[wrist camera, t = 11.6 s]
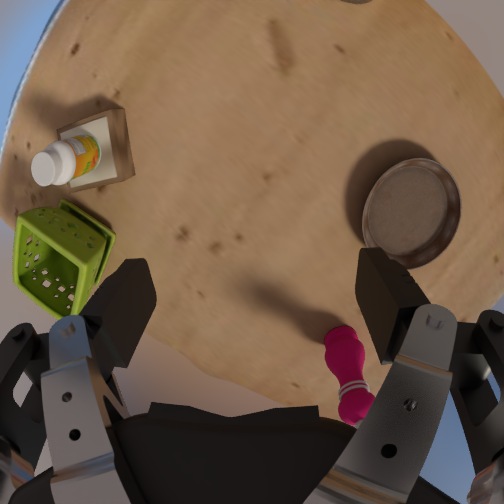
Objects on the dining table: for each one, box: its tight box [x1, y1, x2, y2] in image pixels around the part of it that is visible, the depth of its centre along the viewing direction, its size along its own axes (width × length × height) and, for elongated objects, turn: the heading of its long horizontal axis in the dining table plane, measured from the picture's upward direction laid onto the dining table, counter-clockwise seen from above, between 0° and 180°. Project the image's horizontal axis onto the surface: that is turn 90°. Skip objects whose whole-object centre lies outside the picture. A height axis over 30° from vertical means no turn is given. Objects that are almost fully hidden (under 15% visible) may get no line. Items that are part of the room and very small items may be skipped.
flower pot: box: [13, 199, 116, 320], centre depth 37 cm, size 14×14×13 cm
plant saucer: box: [362, 158, 462, 270], centre depth 37 cm, size 18×18×3 cm
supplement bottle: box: [31, 134, 101, 186], centre depth 28 cm, size 5×5×10 cm
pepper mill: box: [324, 326, 375, 429], centre depth 41 cm, size 7×7×20 cm
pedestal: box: [57, 109, 135, 194], centre depth 34 cm, size 10×10×4 cm
